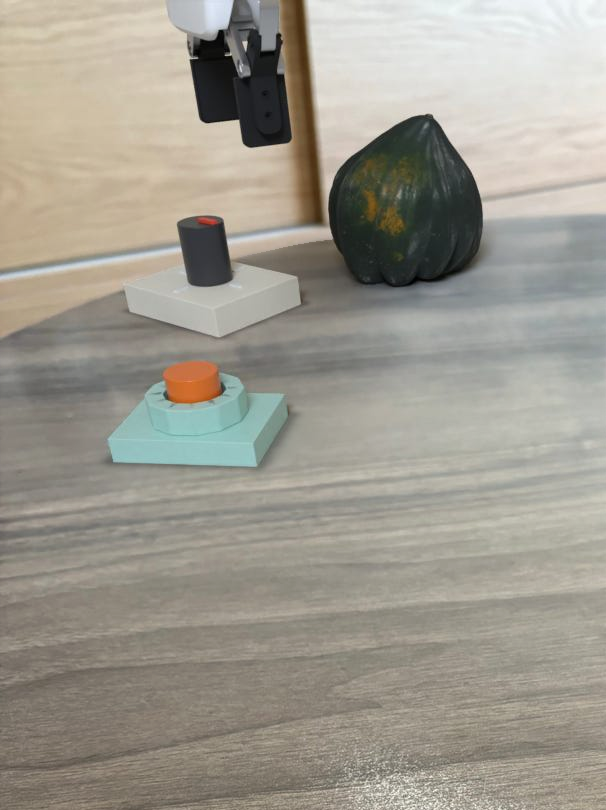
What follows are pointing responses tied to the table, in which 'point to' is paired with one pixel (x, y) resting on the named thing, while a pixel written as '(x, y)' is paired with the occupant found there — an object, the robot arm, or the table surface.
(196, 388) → the power button
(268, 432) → the switch block
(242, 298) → the grey base plate
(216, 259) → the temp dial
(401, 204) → the squash
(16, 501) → the table surface
